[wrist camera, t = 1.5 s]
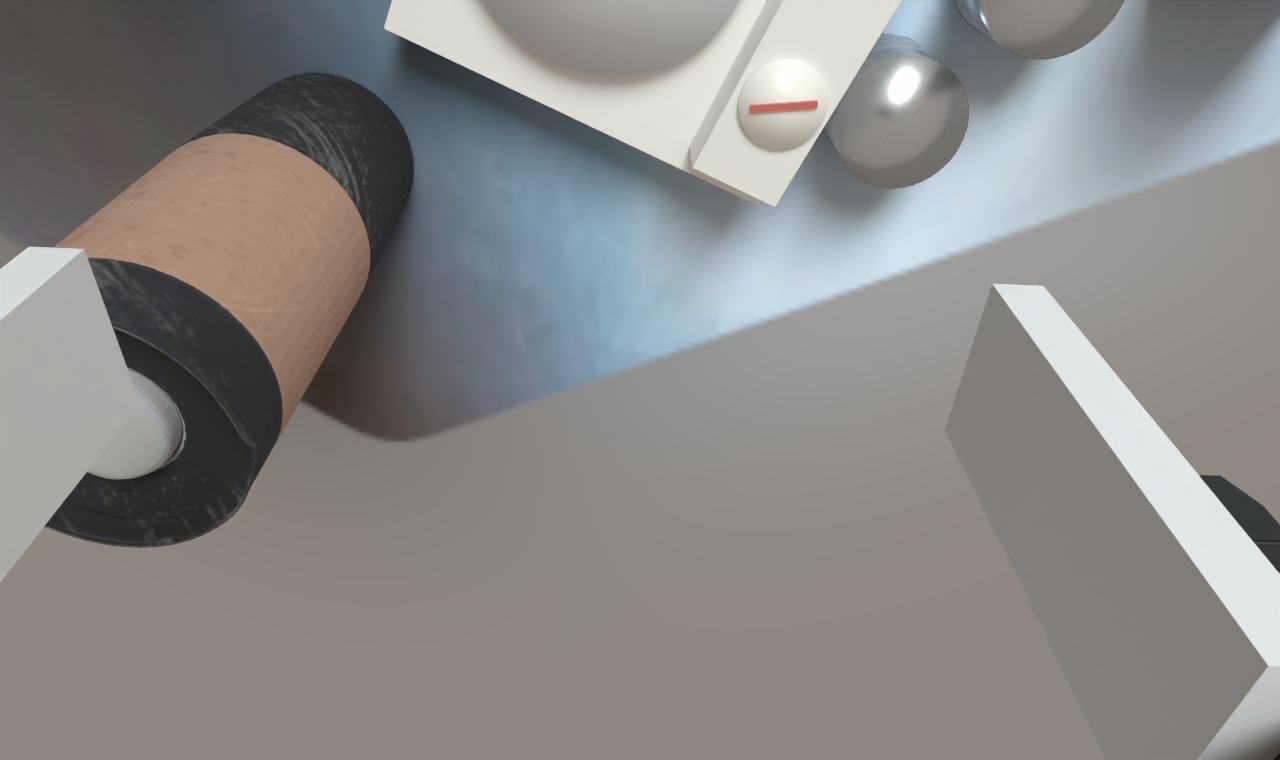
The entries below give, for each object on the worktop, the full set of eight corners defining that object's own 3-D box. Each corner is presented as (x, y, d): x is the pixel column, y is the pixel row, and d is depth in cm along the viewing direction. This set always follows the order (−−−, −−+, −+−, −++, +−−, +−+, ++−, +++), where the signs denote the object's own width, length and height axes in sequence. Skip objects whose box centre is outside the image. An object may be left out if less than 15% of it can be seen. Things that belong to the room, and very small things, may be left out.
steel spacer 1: (795, 123, 37) (811, 155, 33) (862, 11, 34) (886, 34, 31) (891, 172, 38) (916, 208, 34) (962, 67, 35) (996, 95, 32)
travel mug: (204, 105, 36) (-163, 368, 19) (360, 34, 34) (106, 254, 18) (308, 258, 40) (78, 582, 23) (452, 201, 38) (314, 505, 22)
